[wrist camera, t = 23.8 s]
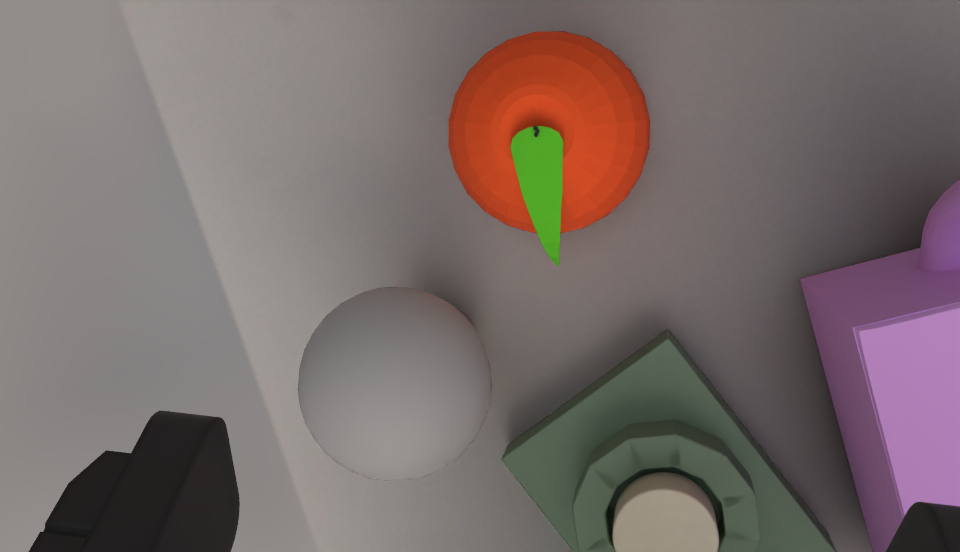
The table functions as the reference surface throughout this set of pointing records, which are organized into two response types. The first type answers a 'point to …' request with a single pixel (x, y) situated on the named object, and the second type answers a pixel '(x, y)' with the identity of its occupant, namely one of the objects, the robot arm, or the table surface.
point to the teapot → (896, 370)
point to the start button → (664, 516)
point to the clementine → (549, 133)
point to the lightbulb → (394, 383)
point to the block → (658, 457)
